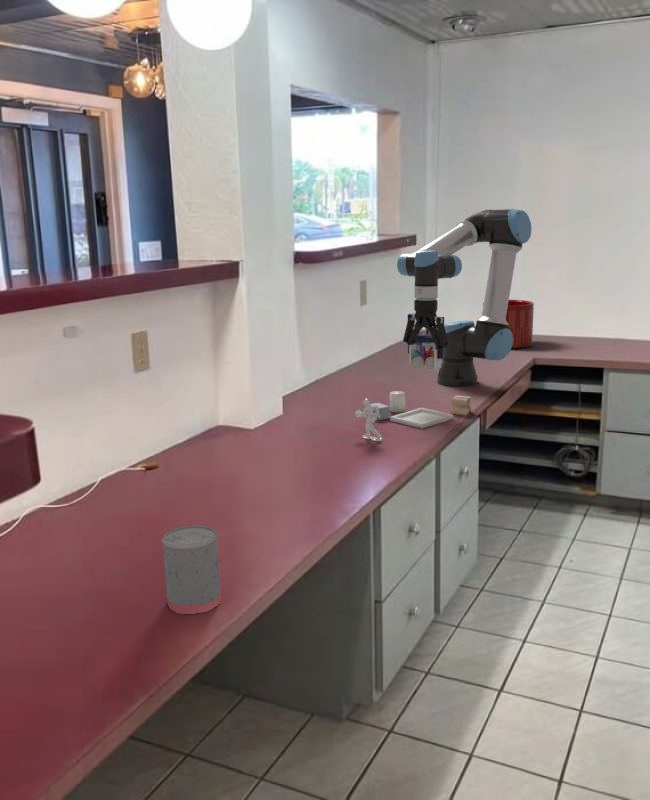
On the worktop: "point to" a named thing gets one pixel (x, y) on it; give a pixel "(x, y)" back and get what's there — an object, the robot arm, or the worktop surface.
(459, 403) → the oak block
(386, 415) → the slate block
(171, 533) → the speckled grey cylinder
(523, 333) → the planter
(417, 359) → the multicoloured rounded cluster
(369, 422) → the figurine
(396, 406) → the white domed cylinder
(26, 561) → the worktop surface
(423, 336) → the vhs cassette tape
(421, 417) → the tray
